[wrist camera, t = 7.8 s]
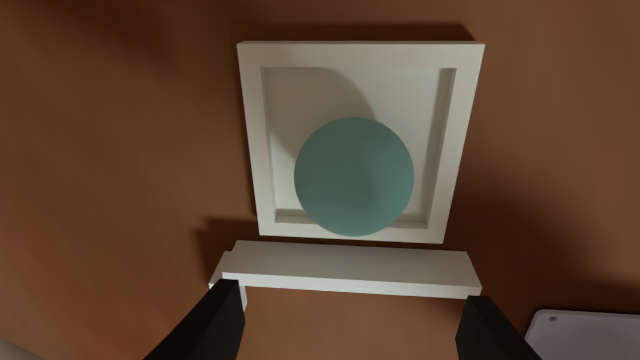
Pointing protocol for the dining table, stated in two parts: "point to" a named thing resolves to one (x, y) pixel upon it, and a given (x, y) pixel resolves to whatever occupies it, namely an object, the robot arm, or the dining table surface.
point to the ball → (353, 176)
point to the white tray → (358, 101)
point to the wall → (349, 269)
